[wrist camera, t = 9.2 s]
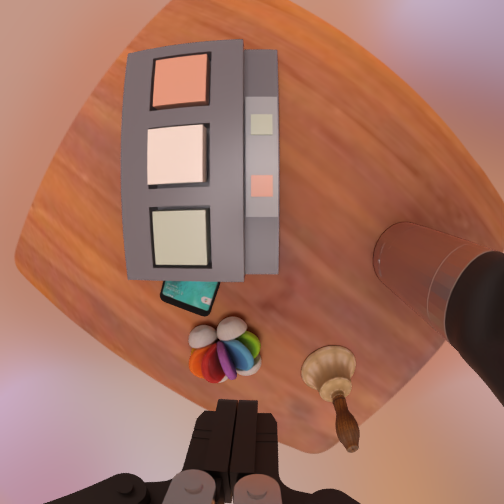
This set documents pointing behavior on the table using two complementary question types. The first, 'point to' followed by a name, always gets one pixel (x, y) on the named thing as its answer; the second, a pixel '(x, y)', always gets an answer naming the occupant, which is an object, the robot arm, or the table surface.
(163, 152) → the key cream
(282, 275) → the table surface
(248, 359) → the rainbow petal flower toy
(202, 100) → the key terracotta
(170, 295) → the smartphone
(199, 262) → the key sage
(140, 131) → the keypad
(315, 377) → the hand bell
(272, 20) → the table surface
